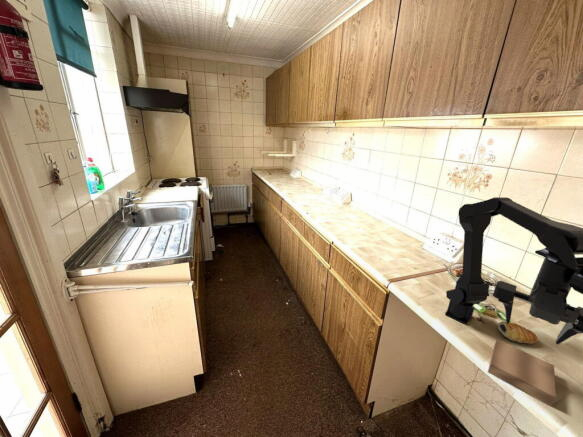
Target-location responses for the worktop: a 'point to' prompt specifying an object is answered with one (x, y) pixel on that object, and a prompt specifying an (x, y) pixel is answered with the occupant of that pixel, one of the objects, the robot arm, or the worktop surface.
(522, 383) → the walnut base
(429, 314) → the worktop surface
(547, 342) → the worktop surface
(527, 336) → the pastry
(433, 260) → the worktop surface
